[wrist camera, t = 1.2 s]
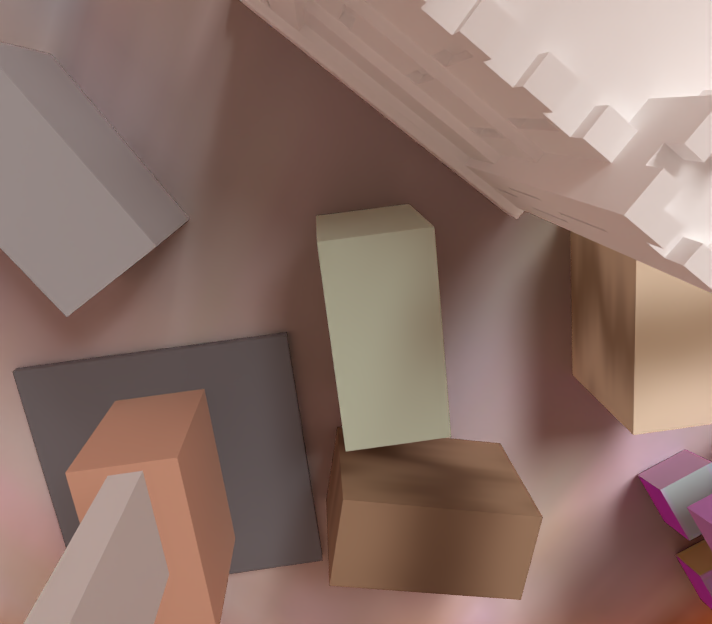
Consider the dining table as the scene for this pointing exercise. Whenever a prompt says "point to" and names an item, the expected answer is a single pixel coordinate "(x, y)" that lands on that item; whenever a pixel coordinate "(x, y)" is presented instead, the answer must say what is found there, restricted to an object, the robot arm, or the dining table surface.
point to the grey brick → (70, 185)
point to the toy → (686, 511)
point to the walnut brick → (430, 519)
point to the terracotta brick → (169, 493)
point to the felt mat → (229, 422)
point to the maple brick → (640, 340)
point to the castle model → (544, 106)
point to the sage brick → (384, 325)
